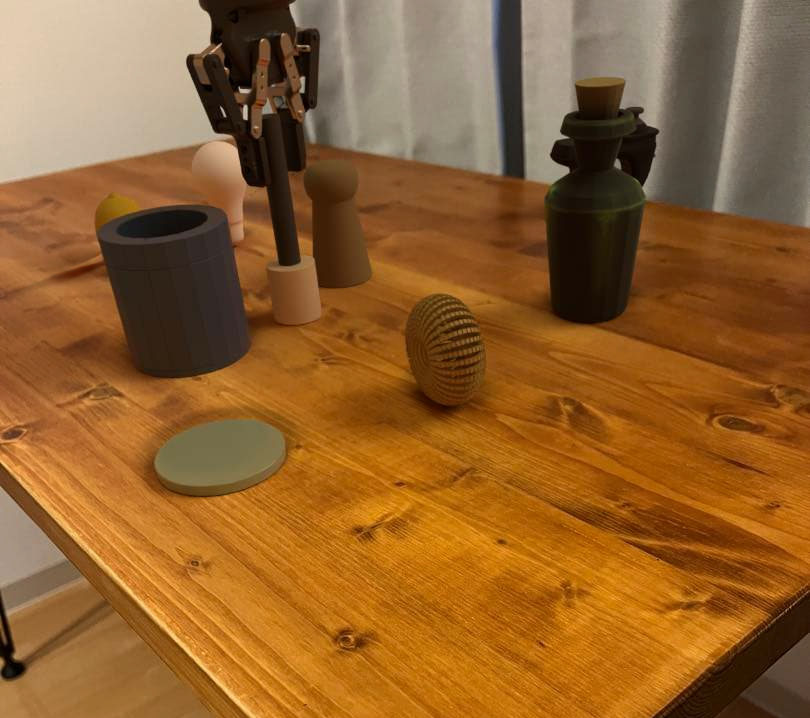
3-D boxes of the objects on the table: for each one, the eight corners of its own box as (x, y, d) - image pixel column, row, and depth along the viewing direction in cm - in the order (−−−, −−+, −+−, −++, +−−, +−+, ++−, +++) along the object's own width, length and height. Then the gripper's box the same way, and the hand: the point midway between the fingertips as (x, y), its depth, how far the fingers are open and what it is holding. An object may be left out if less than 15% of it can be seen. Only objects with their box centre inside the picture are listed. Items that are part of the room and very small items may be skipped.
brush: (302, 328, 78) (271, 123, 68) (265, 321, 80) (228, 120, 70) (331, 310, 81) (305, 111, 71) (294, 304, 83) (263, 109, 73)
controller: (658, 203, 100) (667, 107, 94) (562, 222, 97) (564, 125, 91) (638, 194, 103) (645, 101, 97) (544, 212, 100) (545, 118, 94)
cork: (383, 269, 89) (372, 155, 83) (351, 290, 85) (337, 171, 79) (334, 263, 92) (320, 152, 85) (301, 283, 88) (283, 168, 81)
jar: (108, 365, 75) (69, 236, 69) (189, 321, 82) (161, 200, 75) (195, 386, 70) (162, 250, 64) (274, 338, 77) (252, 210, 71)
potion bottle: (651, 299, 78) (671, 72, 67) (613, 333, 72) (629, 94, 62) (567, 286, 82) (574, 70, 71) (526, 318, 76) (527, 90, 66)
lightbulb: (224, 258, 96) (203, 151, 89) (197, 247, 100) (175, 144, 93) (271, 243, 99) (254, 139, 92) (243, 233, 103) (225, 132, 96)
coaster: (129, 477, 60) (126, 467, 59) (217, 418, 66) (215, 409, 65) (228, 509, 56) (225, 499, 55) (312, 443, 62) (310, 433, 61)
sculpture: (496, 415, 63) (495, 308, 58) (446, 429, 62) (440, 322, 57) (447, 373, 69) (442, 273, 64) (400, 386, 68) (392, 285, 63)
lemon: (140, 278, 93) (120, 200, 88) (97, 276, 94) (74, 199, 90) (168, 260, 97) (149, 185, 92) (125, 258, 99) (105, 184, 94)
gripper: (261, -73, 70) (293, 154, 80) (130, -58, 61) (186, 198, 71) (336, -79, 67) (360, 159, 77) (210, -64, 57) (257, 206, 67)
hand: (276, 176), depth 74 cm, fingers open, 4 cm apart
